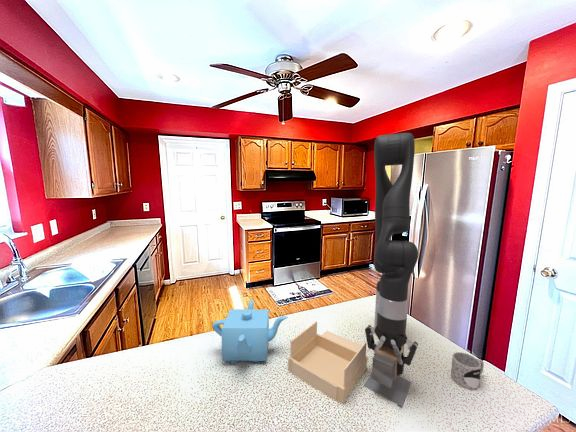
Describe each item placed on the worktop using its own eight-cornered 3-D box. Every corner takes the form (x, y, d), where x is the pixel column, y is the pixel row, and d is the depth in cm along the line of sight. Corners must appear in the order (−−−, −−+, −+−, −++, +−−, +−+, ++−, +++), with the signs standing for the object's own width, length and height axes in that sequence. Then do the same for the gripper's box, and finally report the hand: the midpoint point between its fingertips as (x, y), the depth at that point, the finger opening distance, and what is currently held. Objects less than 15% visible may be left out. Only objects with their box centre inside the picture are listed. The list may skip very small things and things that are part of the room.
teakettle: (208, 353, 80) (207, 312, 79) (252, 330, 94) (252, 294, 92) (242, 385, 67) (242, 336, 66) (287, 353, 81) (288, 312, 79)
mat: (375, 367, 75) (375, 365, 75) (410, 383, 69) (410, 381, 69) (363, 387, 67) (363, 385, 67) (401, 407, 61) (401, 405, 61)
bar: (385, 355, 74) (386, 337, 73) (403, 363, 71) (404, 343, 70) (371, 378, 64) (372, 357, 64) (391, 388, 61) (392, 366, 61)
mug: (466, 392, 66) (469, 370, 66) (445, 374, 73) (447, 354, 72) (493, 385, 69) (495, 363, 68) (470, 368, 75) (472, 348, 75)
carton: (322, 340, 89) (323, 315, 88) (371, 362, 77) (372, 335, 76) (287, 372, 73) (287, 342, 72) (342, 406, 61) (344, 372, 60)
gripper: (423, 315, 64) (419, 374, 66) (371, 299, 73) (368, 351, 75) (418, 327, 58) (413, 391, 60) (361, 308, 67) (358, 364, 69)
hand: (388, 368), depth 68 cm, fingers closed on bar, 5 cm apart
